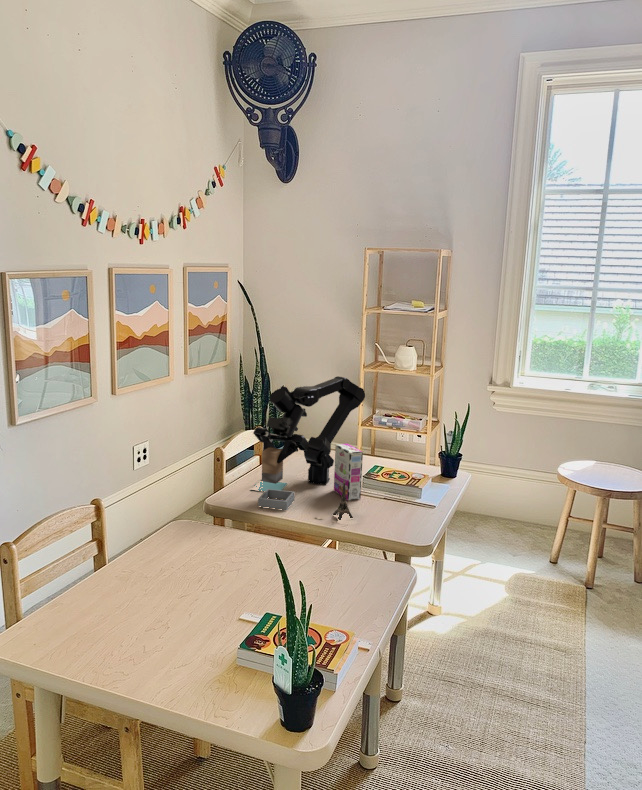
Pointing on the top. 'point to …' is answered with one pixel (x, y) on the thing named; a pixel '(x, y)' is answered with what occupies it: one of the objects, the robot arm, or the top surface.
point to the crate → (276, 503)
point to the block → (271, 465)
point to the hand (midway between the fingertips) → (270, 461)
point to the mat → (271, 486)
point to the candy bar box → (348, 471)
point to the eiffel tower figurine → (343, 505)
